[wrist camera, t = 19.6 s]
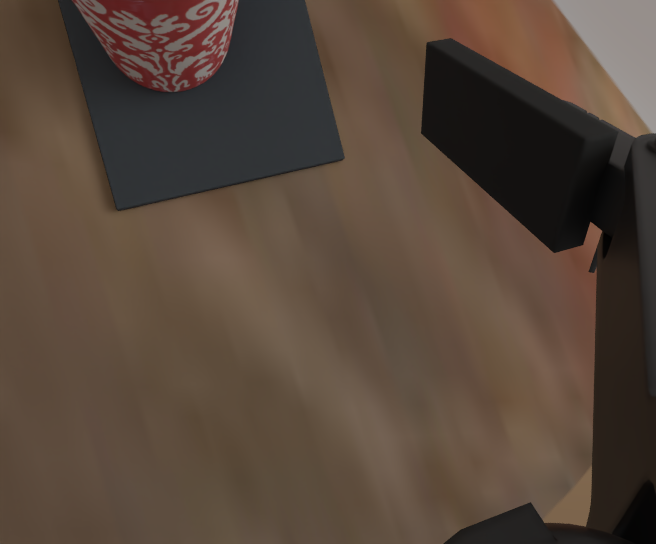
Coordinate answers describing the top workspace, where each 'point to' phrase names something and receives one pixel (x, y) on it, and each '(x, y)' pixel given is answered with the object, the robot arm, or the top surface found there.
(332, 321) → the top surface
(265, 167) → the mat
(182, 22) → the mug
